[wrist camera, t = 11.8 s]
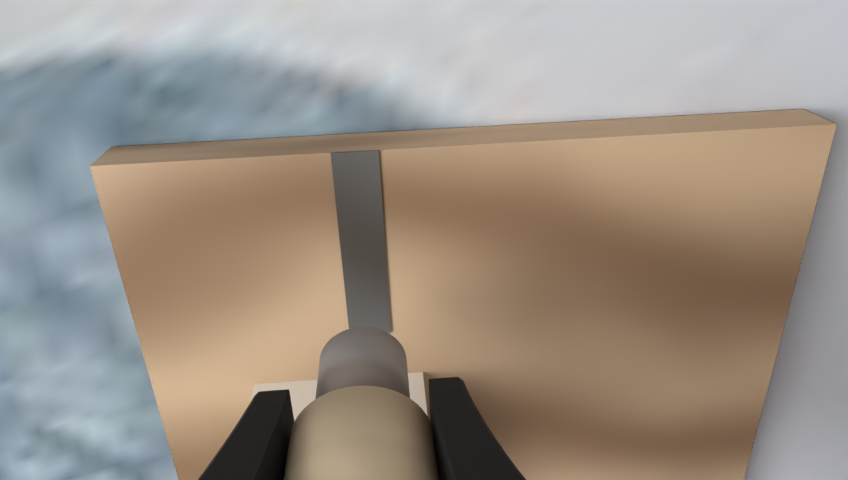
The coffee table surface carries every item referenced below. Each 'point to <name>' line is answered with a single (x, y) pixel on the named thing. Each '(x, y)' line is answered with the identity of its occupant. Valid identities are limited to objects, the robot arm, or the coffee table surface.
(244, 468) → the robot arm
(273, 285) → the subfloor board
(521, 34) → the coffee table surface
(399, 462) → the awl
